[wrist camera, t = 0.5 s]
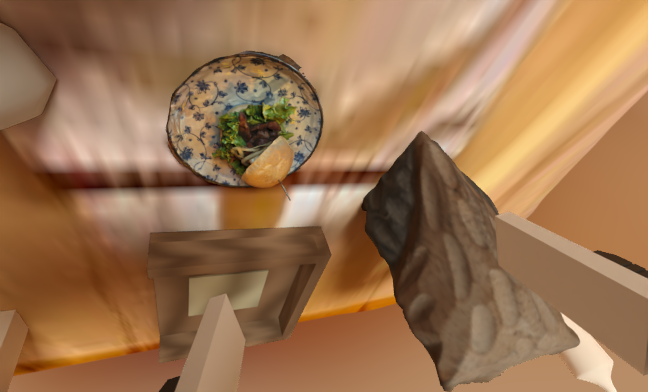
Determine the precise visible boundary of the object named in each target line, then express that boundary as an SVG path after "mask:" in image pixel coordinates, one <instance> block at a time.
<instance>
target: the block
mask: <svg viewBox="0 0 648 392" xmlns="http://www.w3.org/2000/svg"><path fill="white" fill-rule="evenodd" d="M28 330H29V328H28V327H27V325H26V324H25V322H24V321H23V320H22V318H21V317H20V315H19V314H18V313H17V311H16V310H8V311H0V392H7V391H8V389H9V385H10V383H11V379H12V377H13V374H14V371H15V368H16V365H17V362H18V359H19V356H20V353H21V351H22V348H23V345H24V342H25V339H26V336H27V333H28Z"/></svg>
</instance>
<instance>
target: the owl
mask: <svg viewBox="0 0 648 392" xmlns="http://www.w3.org/2000/svg"><path fill="white" fill-rule="evenodd" d="M362 209H363V211H367V216H366V224H365V231H366V233H367V235H368V236H369V238H370V239H371V240H372V241H373V243H374V244H375V246H376V247H377V249H378V252H379V254H380V256H381V257H383V258H384V259H385V261H386V262H387V263H388V265H389V268H390V271H391V275H392V278H393V287H394V296H395V299H396V302H397V304H398V305H399V306H400V307H401V308H402V309H403V314H404V316H405V319H406V321H407V322H408V325H409V327H410V329H411V331H412V333H413V334H414V335H415V337H416V338H417V339H418V340H419V341H420V342H421V343H422V344H423V345H424V347H425V348H426V350H427V351H428V353H429V354H430V356H431V358H432V360H433V362H434V363H435V366H436V370H437V374H438V377H439V381H440V385H441V386H442V387H443V389H444V391H449V392H451V391H452V390H453V388H454V387H455V386H456V385H458V384H469V383H471V382H474V383H477V382H480V383H482V382H489V381H491V380H492V379H493V378H495V377H497V376H500V375H501V373H503V372H504V370H506V369H508V368H510V367H512V366H515V365H517V364H521V363H522V362H525V361H528V360H532V359H534V358H537V357H540V356H542V355H546V354H549V355H553V354H557V353H561V352H563V351H565V350H568V349H571V348H575V347H577V346H578V345H579V344H580V339H579V337H578V335H577V334H576V333H575V332H574V331H573V330H572V329H571V328H570V327H569V326H567V324H566V323H565V322H564V319H563V317H562V315H561V312H560V311H558V310H557V309H556V308H554V307H553V306H552V305H550V304H549V303H548V302H547V301H545V300H544V299H543V298H541V297H540V296H539V295H537V294H536V293H535V292H533V291H532V290H531V289H529V288H528V287H527V286H525V285H524V284H523V283H522V282H520V281H519V280H518V279H516V278H515V277H514V276H512V275H511V274H510V273H508V272H507V271H506V270H504V269H503V268H502V267H500V266H499V264H498V252H497V239H496V226H495V216H496V215H499V213H498V211H497V209H496V207H495V205H494V203H493V202H492V201H491V199H490V198H489V197H488V196H487V195H486V194H485V193H484V192H483V191H482V190H481V189H480V188H479V187H478V186H477V185H476V184H475V183H474V182H473V181H472V180H471V179H470V178H469V177H468V176H466V175H465V174H464V173H463V172H461V171H460V170H459V169H458V168H457V167H456V165H455V163H454V162H453V161H452V159H451V158H450V157H449V156H448V155H447V154H446V153H445V152H444V151H443V150H442V149H441V147H440V146H439V145H438V143H437V142H435V141H433V140H431V139H430V138H429V137H428V135H426V134H425V133H424V132H422V131H421V132H419V133H418V135H417V136H416V137H415V139H414V140H413V141H412V142H411V143H410V145H409V146H408V147H407V149H406V150H405V151H404V152H403V154H402V155H401V156H399V157H398V158H397V160H396V161H395V162H394V164H393V166H392V167H391V168H390V169H389V171H388V172H386V173H385V174H384V175H383V176H382V177H381V178H380V180H379V182H378V184H377V186H376V187H375V188H374V189H372V190H371V191H370V192H369V193H368V194H367V195H366V196H365V198H364V200H363V204H362Z"/></svg>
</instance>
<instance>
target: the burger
mask: <svg viewBox="0 0 648 392" xmlns="http://www.w3.org/2000/svg"><path fill="white" fill-rule="evenodd" d="M290 59H291V58H289V57H288V56H286V55H284V54H282V55H280V56H279V57H277V56H273V55H270V54H266V53H263V52H255V51H245V52H242V53H239V54H235V55H232V56H227V57H220V58H216V59H214V60H212V61H210V62H208V63H206V64H205V65H203V66H201V67H200V68H198V69H196V70H195V71H194V72H193V73H192V74H191V75H190V76H189V77H188V78H187V79H186V80H185V81H184V82H183V83H182V84H181V85H180V86H179V87H178V88H177V89H176V90H175V91H174V93H173V94H172V97H171V103H170V109H169V115H168V121H167V125H166V132H167V135H168V142H167V144H168V147H169V149H170V151H171V153H172V154H173V155H174V157H175V158H176V160H177V161H178V162H179V163H180V164H183V165H184V166H186V167H188V168H189V169H191V170H192V171H193V172H194V174H195V175H197V176H201V177H202V178H204V179H205V181H208V182H211V183H213V184H218V185H222V186H229V187H244V188H247V187H259V188H267V187H272V186H274V185H276V184H278V183H280V184H281V181H282V180H283V179H284V178H286V177H287V176H289V175H290V174H292V173H293V172H295V171H297V170H299V169H300V167H301V166H302V165H303V164H304V163H305V162H306V161H307V160H308V159H309V158H310V157H311V155H312V154H313V152H314V151H315V149H316V147H317V145H318V142H319V140H320V137H321V134H322V128H323V111H322V107H321V104H320V100H319V97H318V95H317V92H316V90H315V89H314V88H313V86H312V85H311V83H310V82H309V81H308V80H307V79H306V78H305V76H303V75H302V74H304V73H302V74H301V73H300V72H299V69H300V68H301V67H300V66H299V65H297V64H296V63H295V62H294V61H293V60H292V59H291V60H290ZM281 186H282V187H283V185H282V184H281ZM283 189H284V191H285V193H286V195H287V196H288V194H287V192H286V190H285V188H284V187H283ZM288 198H289V196H288ZM289 200H290V198H289ZM290 201H291V200H290Z"/></svg>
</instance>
